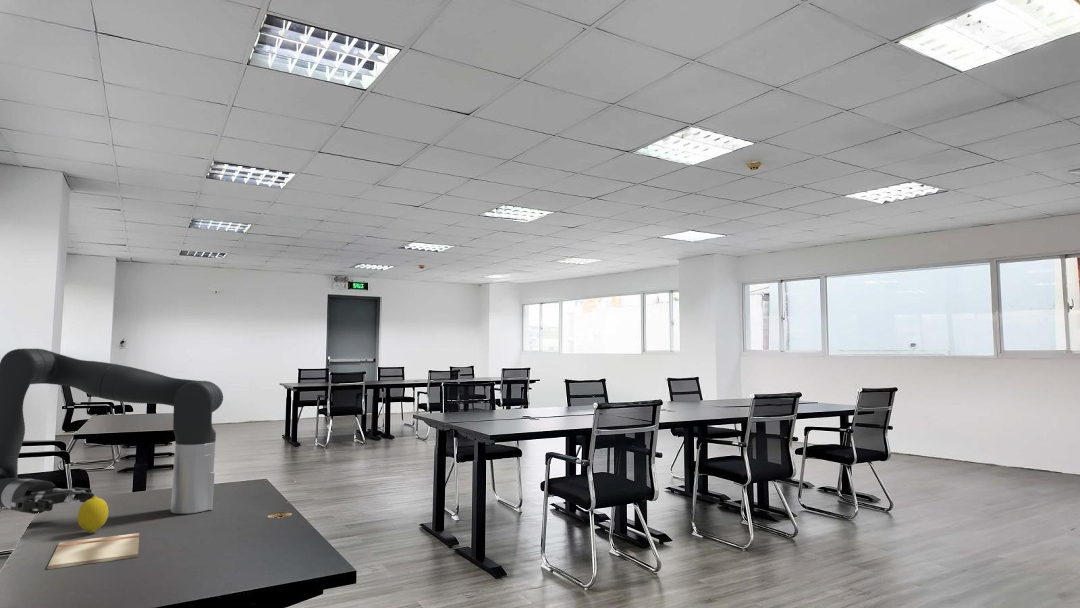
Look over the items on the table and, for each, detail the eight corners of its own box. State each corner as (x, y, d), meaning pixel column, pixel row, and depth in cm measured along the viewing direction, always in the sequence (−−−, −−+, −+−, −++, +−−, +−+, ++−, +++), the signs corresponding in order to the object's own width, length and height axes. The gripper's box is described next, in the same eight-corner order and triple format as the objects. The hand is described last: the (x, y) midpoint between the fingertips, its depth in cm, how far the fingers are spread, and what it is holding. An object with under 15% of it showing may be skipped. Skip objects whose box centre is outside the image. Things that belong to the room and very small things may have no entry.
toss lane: (139, 534, 134) (139, 532, 134) (137, 557, 119) (137, 554, 119) (59, 544, 127) (59, 541, 127) (47, 569, 112) (47, 566, 112)
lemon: (90, 537, 132) (93, 499, 133) (69, 535, 133) (72, 498, 134) (113, 530, 137) (115, 494, 138) (92, 528, 138) (95, 493, 139)
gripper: (-5, 485, 139) (37, 491, 133) (63, 474, 152) (105, 479, 146) (-9, 518, 138) (34, 526, 132) (61, 505, 151) (103, 511, 145)
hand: (71, 502), depth 139 cm, fingers open, 8 cm apart
